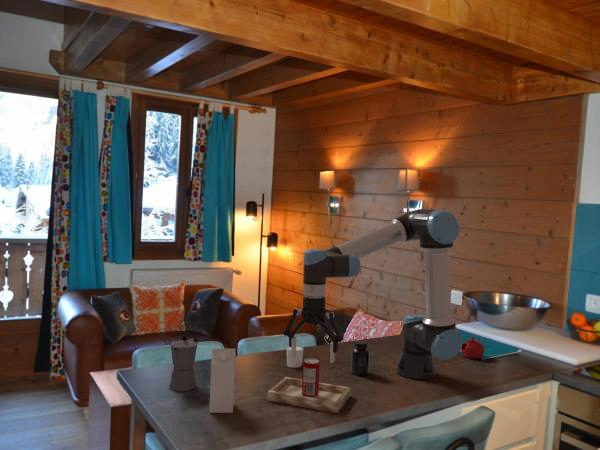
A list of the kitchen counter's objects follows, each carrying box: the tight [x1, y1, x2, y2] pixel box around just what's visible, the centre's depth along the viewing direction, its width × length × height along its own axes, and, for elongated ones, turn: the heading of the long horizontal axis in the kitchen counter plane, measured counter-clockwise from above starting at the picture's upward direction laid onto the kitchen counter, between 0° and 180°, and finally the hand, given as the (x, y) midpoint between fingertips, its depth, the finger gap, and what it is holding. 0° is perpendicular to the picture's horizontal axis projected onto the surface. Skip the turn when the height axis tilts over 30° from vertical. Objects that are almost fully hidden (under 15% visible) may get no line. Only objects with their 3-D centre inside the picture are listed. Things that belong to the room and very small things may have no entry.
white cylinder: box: [285, 345, 304, 369], centre depth 212 cm, size 7×7×7 cm
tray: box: [266, 376, 352, 414], centre depth 178 cm, size 24×16×3 cm, turn 70°
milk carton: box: [208, 348, 236, 414], centre depth 165 cm, size 7×7×19 cm
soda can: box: [301, 358, 320, 398], centre depth 177 cm, size 6×6×12 cm
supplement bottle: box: [350, 340, 370, 376], centre depth 206 cm, size 7×7×12 cm
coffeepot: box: [169, 334, 199, 392], centre depth 184 cm, size 15×9×18 cm, turn 162°
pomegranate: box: [460, 336, 485, 360], centre depth 234 cm, size 10×10×9 cm
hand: (312, 359), depth 177 cm, fingers open, 13 cm apart
